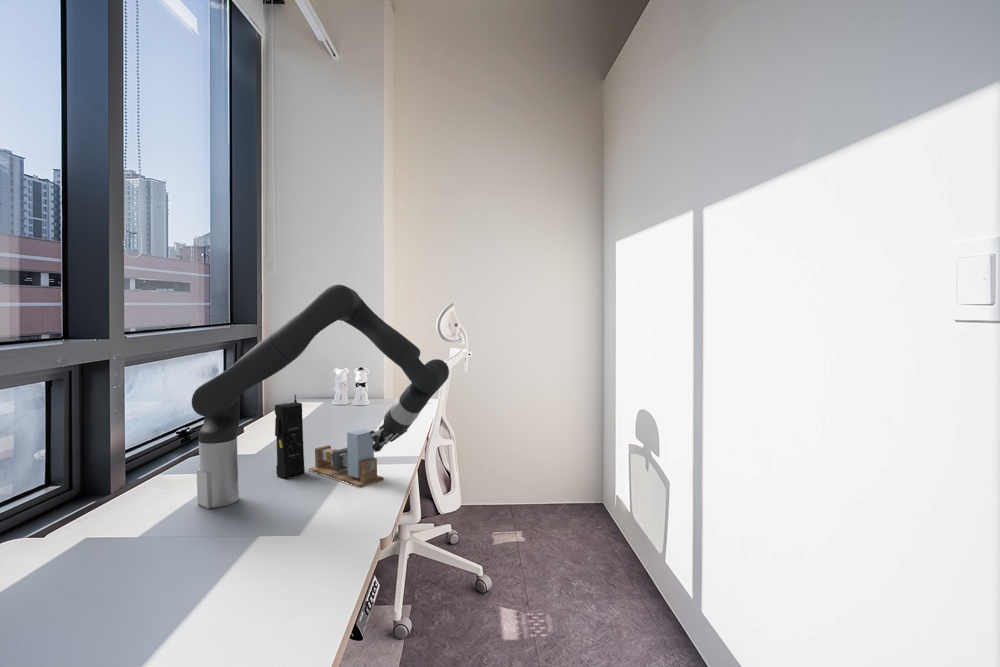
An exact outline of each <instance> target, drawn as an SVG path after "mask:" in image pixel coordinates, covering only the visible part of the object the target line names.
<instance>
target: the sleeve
mask: <svg viewBox="0 0 1000 667" xmlns="http://www.w3.org/2000/svg"><path fill="white" fill-rule="evenodd" d="M371 431H372V430H369V429H365V428H361V429H356V430H352V431H347V432H346V437H347V438H346V442H347V444H346V448H347V456H348V475H350V476H353V477H356V478H360V461H361V460H365V459H371V458H375V451H374V449H373V448H372V446H373V445H374V443H375V442H374V441H373V439H372V437H371V435H370V432H371Z"/></svg>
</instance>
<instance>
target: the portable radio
mask: <svg viewBox="0 0 1000 667" xmlns="http://www.w3.org/2000/svg"><path fill="white" fill-rule="evenodd" d="M297 401H298V400H297V394H294V400H293V401H292V402H285V403H279V404H274V414H275V421H274V422H275V425H274V428H275V429H274V436H275V437H276V467H275V470H276V476H277V477H279V478H281V477H282V478H281V479H284V478H285V480H287V478H288V479H291V478H294V476H295V477H298V476H297V475H299V476H301V475H300V474H302V475H304V474H306V472H305V470H306V468H305V456H304V455H305V454H304V431H303V430H304V429H303V428H304V426H303V403H302V402H297ZM290 477H291V478H290Z"/></svg>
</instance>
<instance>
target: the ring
mask: <svg viewBox="0 0 1000 667" xmlns="http://www.w3.org/2000/svg"><path fill="white" fill-rule="evenodd" d="M344 453H347V447H343V448H340V449H337V450H335V451H333V470H335V471H340V470H343V469H347V468H348V467H345V466H341V465H340V458H339V455H340V454H344Z"/></svg>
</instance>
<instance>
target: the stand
mask: <svg viewBox="0 0 1000 667" xmlns="http://www.w3.org/2000/svg"><path fill="white" fill-rule="evenodd" d="M326 448H330V449H332V445H329V444H328V445H323V446H319V447H315V448H314V465H315V466H313V467H310V468H308V471H309V470H312V471H314V472H317V473H320V474H323V475H326V476H329V477H332V478H335V479H338V480H341V481H344V482H347V483H349V484H348V485H350V484H352V485H351V486H353V485H355V486H354V487H356V486H357V488H359V487H360V488H363V487H366V486H368V485H372V484H375V483H378V482H381V481H384V476H380V475H378V458H377V457H374V458H371V459H367V460H363V461H360V478H356V477H353V476H350V475H348V468H347V469H343V470H340V471H335V470H333V463H332V462H326V461H325V460H322V459H321V457H320V450H322V449H326ZM372 461H373V462H374V464H373V465H374V468H373V469H374V471H371V472H368V471H370V468H369V467H370V466H368V465H371V470H373V469H372V466H373V465H372V463H373V462H372ZM369 462H371V464H370V463H369ZM367 464H368V465H367ZM366 465H367V466H366ZM367 468H369V470H368V469H367ZM366 469H367V470H366ZM366 471H367V472H368V473H367V472H366ZM314 472H313V473H314ZM317 473H316V474H317ZM320 474H319V475H320ZM323 475H322V476H323ZM326 476H325V477H326ZM329 477H328V478H329ZM332 478H331V479H332ZM335 479H334V480H335ZM338 480H337V481H338ZM341 481H340V482H341ZM344 482H343V483H344ZM347 483H346V484H347Z"/></svg>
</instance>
